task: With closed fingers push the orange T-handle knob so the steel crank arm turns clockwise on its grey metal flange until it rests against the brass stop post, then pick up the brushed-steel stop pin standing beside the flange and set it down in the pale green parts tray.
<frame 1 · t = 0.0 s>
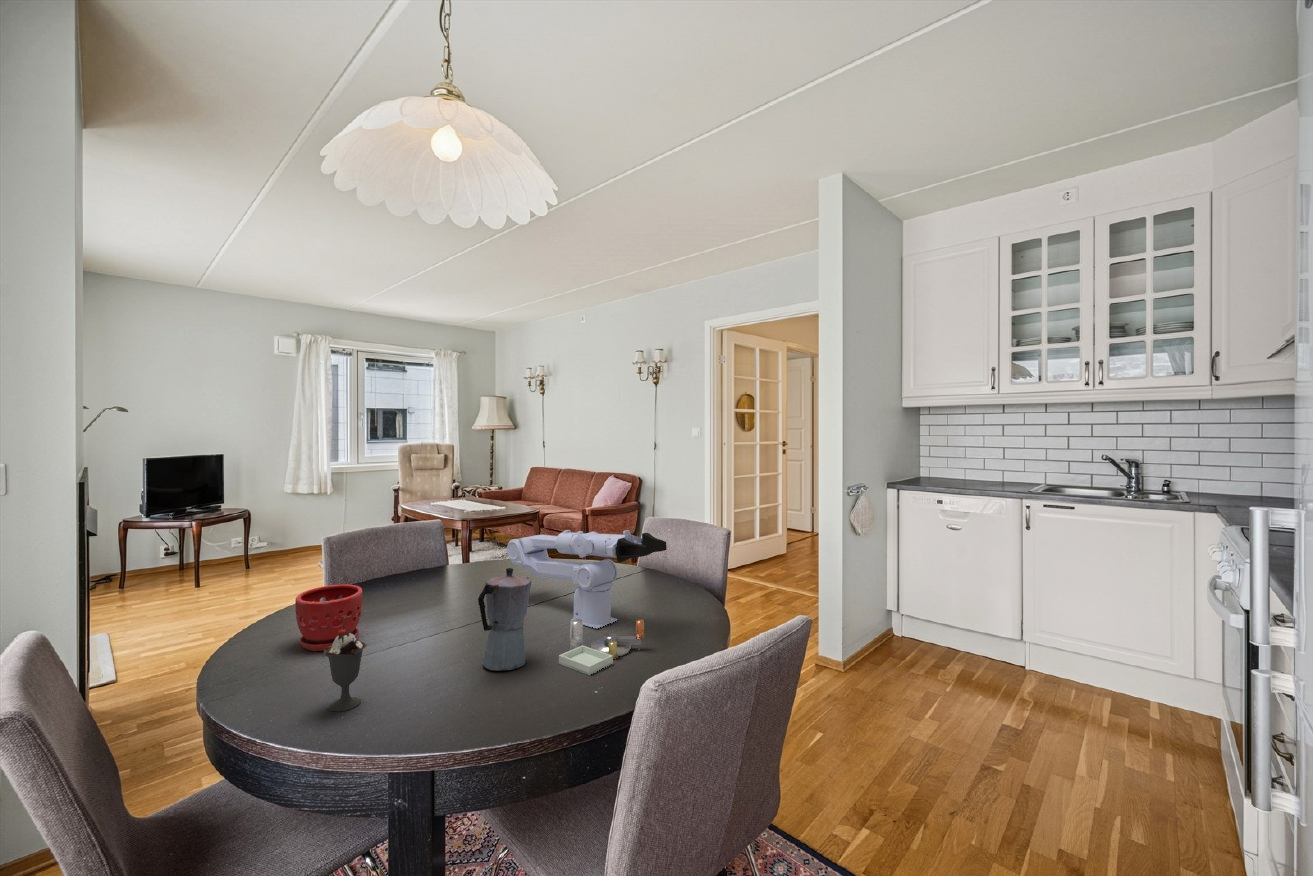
hand: (655, 548, 128), 22 cm above the table, tool horizontal, fingers open, 7 cm apart
plant pot: (329, 645, 123), on the table
sundae: (344, 705, 95), on the table
stop pin: (576, 650, 121), on the table
moka pot: (504, 665, 113), on the table
tray: (585, 664, 114), on the table
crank: (624, 632, 121), point 4 cm above the table, hinge at 40.0°
crank base: (610, 649, 121), on the table
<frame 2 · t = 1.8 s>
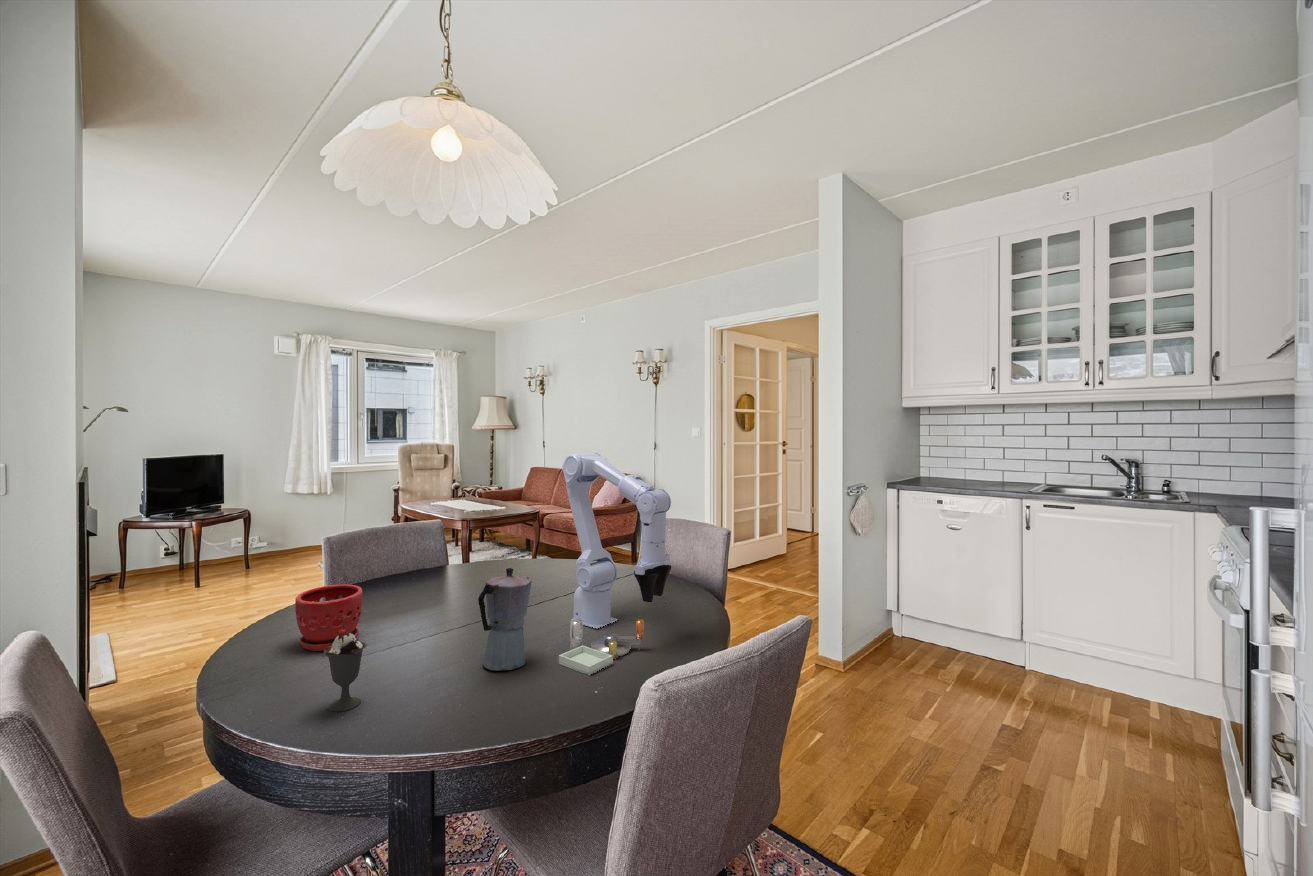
hand: (652, 598, 127), 10 cm above the table, tool pointing down, fingers open, 5 cm apart
nothing on the table moved.
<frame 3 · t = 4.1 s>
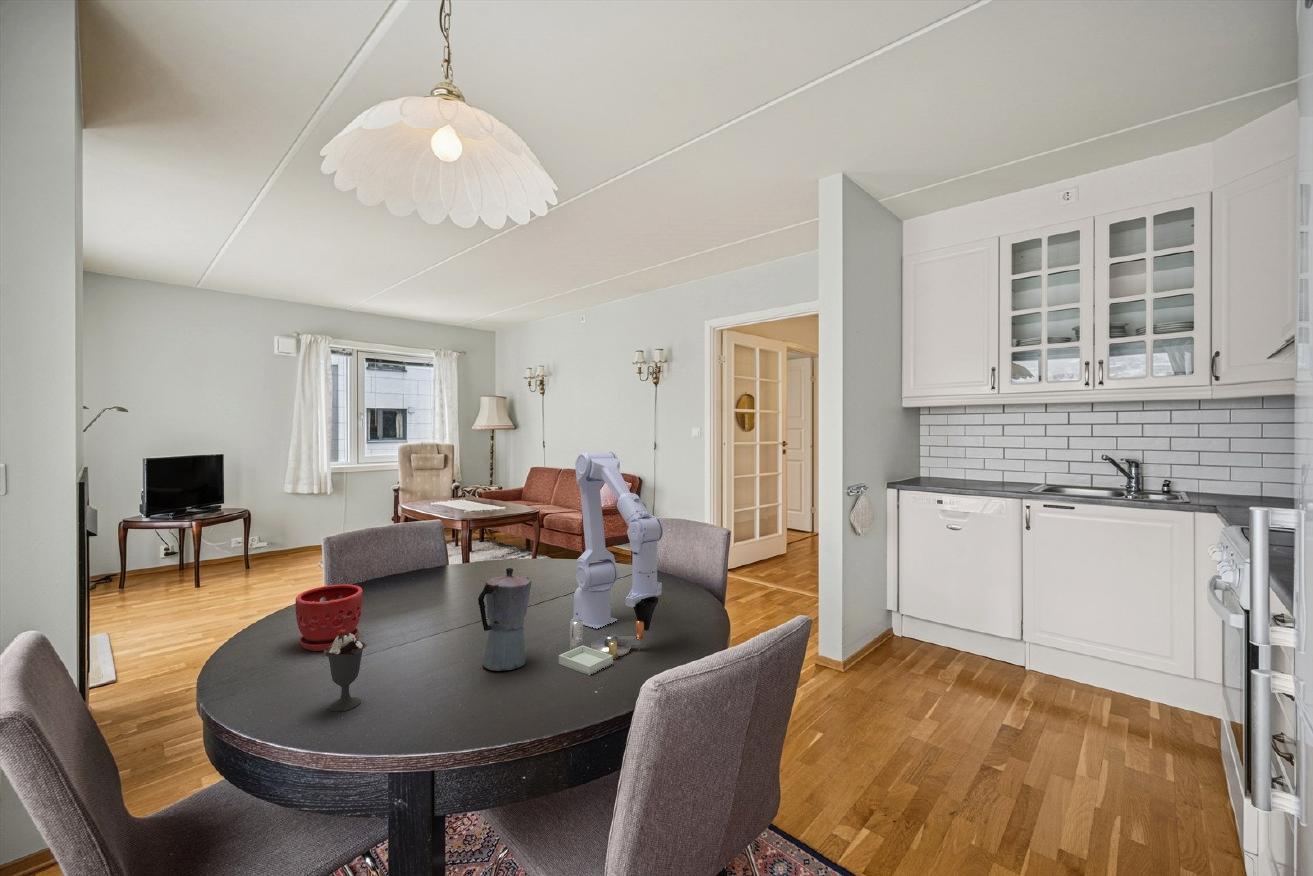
hand: (644, 629, 123), 4 cm above the table, tool pointing down, fingers closed, pressing on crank
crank: (624, 632, 121), point 4 cm above the table, hinge at 39.9°, touching gripper
everything else where it was.
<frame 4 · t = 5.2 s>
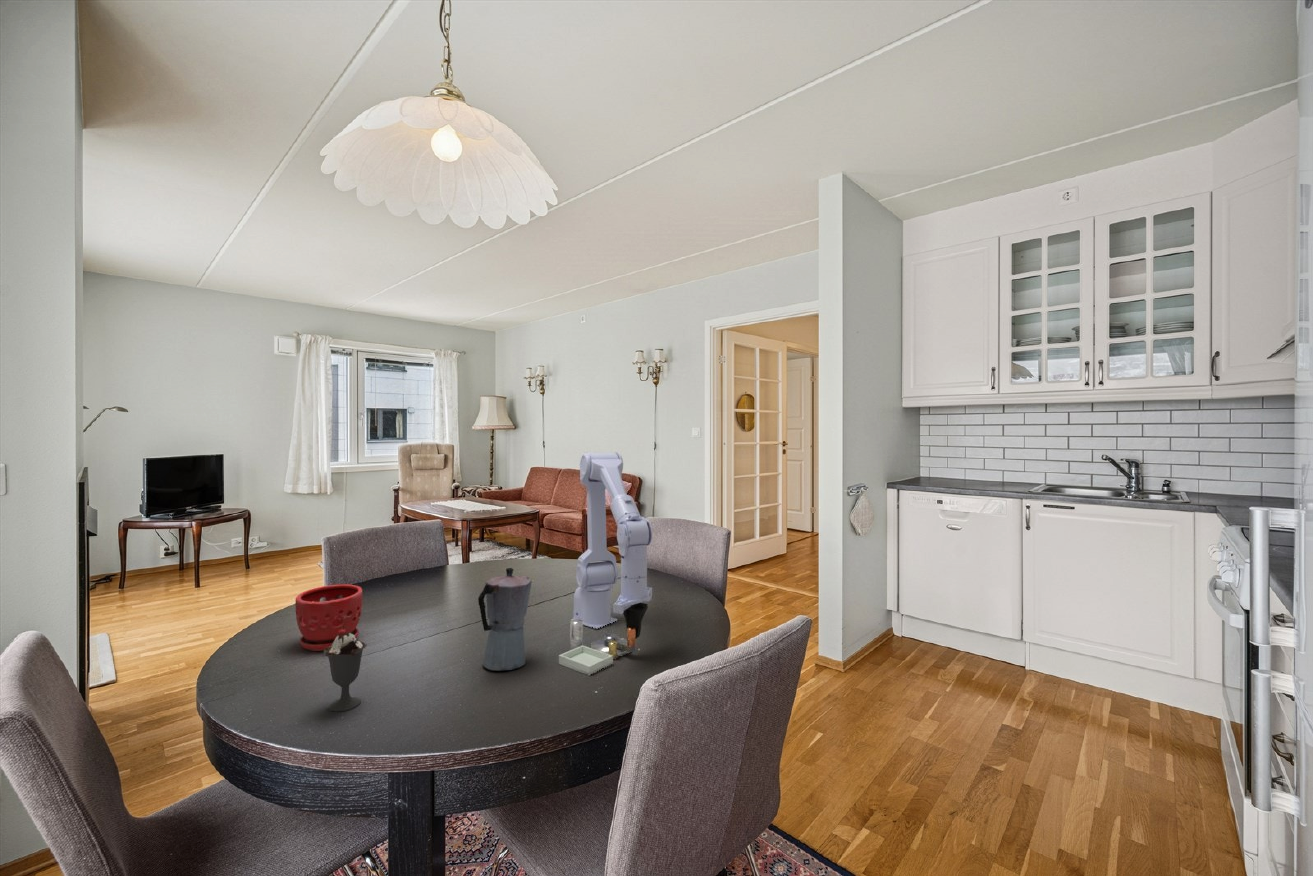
hand: (633, 637, 118), 4 cm above the table, tool pointing down, fingers closed, pressing on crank
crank: (620, 635, 119), point 4 cm above the table, hinge at -5.4°, touching gripper
everything else where it was.
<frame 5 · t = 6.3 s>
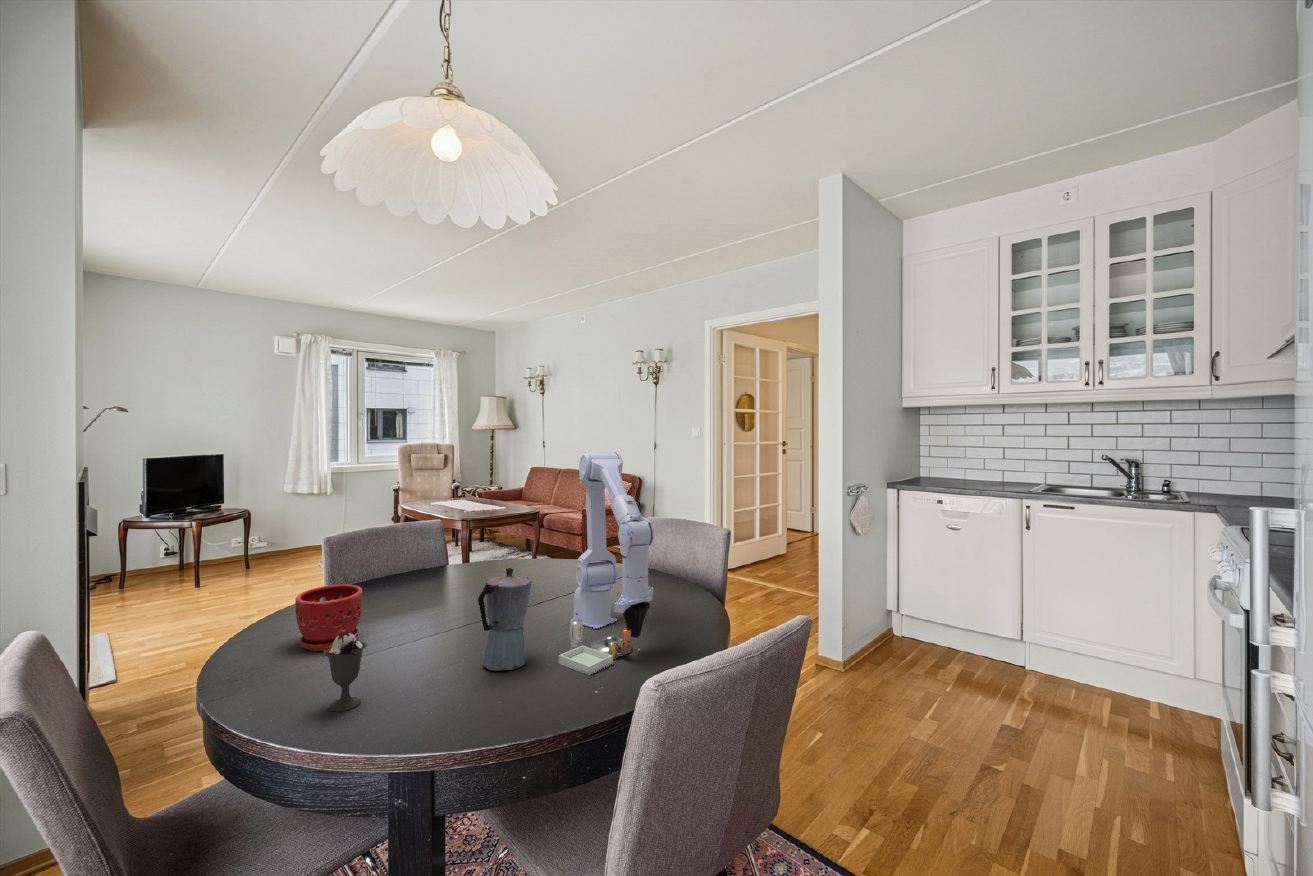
hand: (634, 636, 119), 4 cm above the table, tool pointing down, fingers closed
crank: (617, 636, 119), point 4 cm above the table, hinge at -16.9°
everything else where it was.
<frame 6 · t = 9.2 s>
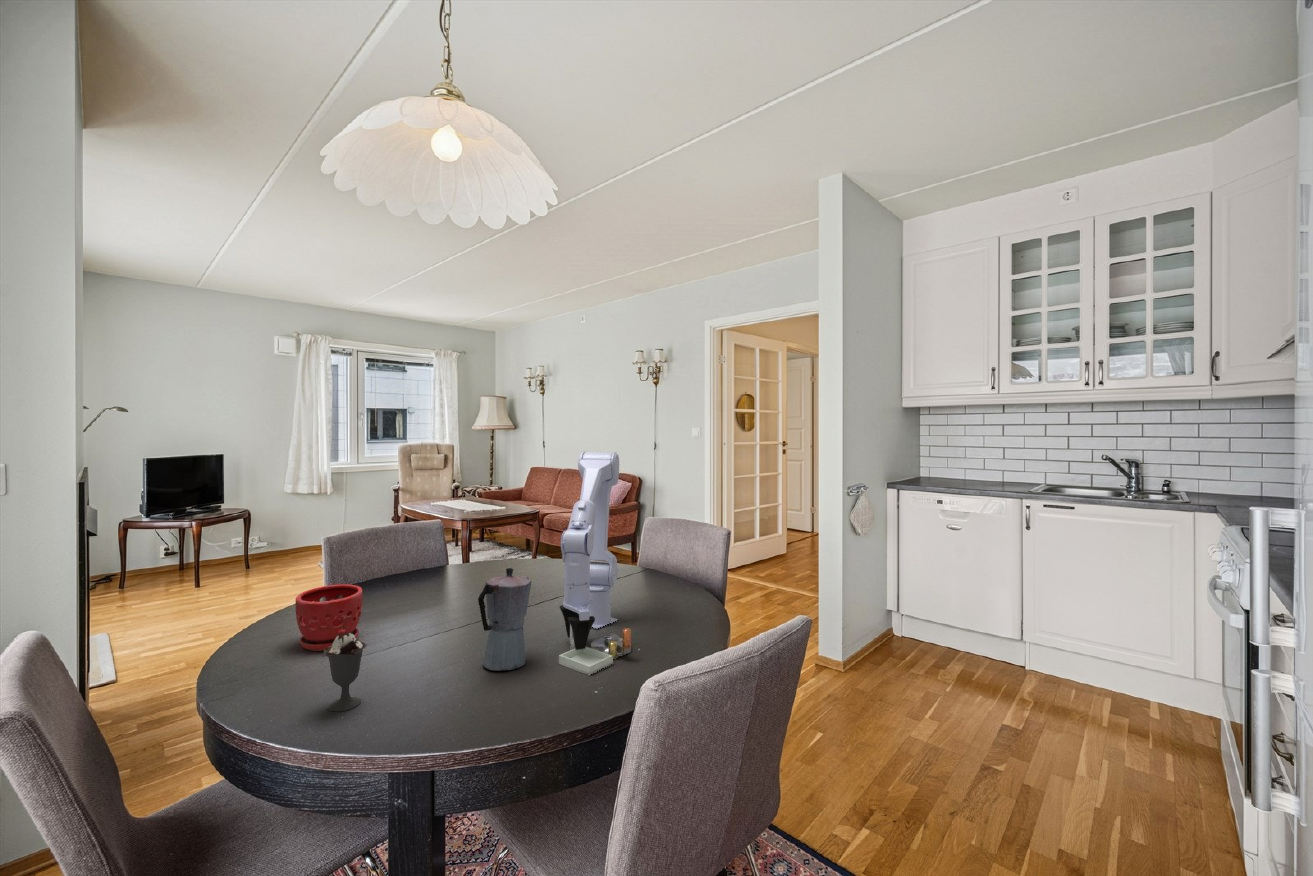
hand: (576, 642, 121), 2 cm above the table, tool pointing down, fingers open, 7 cm apart
nothing on the table moved.
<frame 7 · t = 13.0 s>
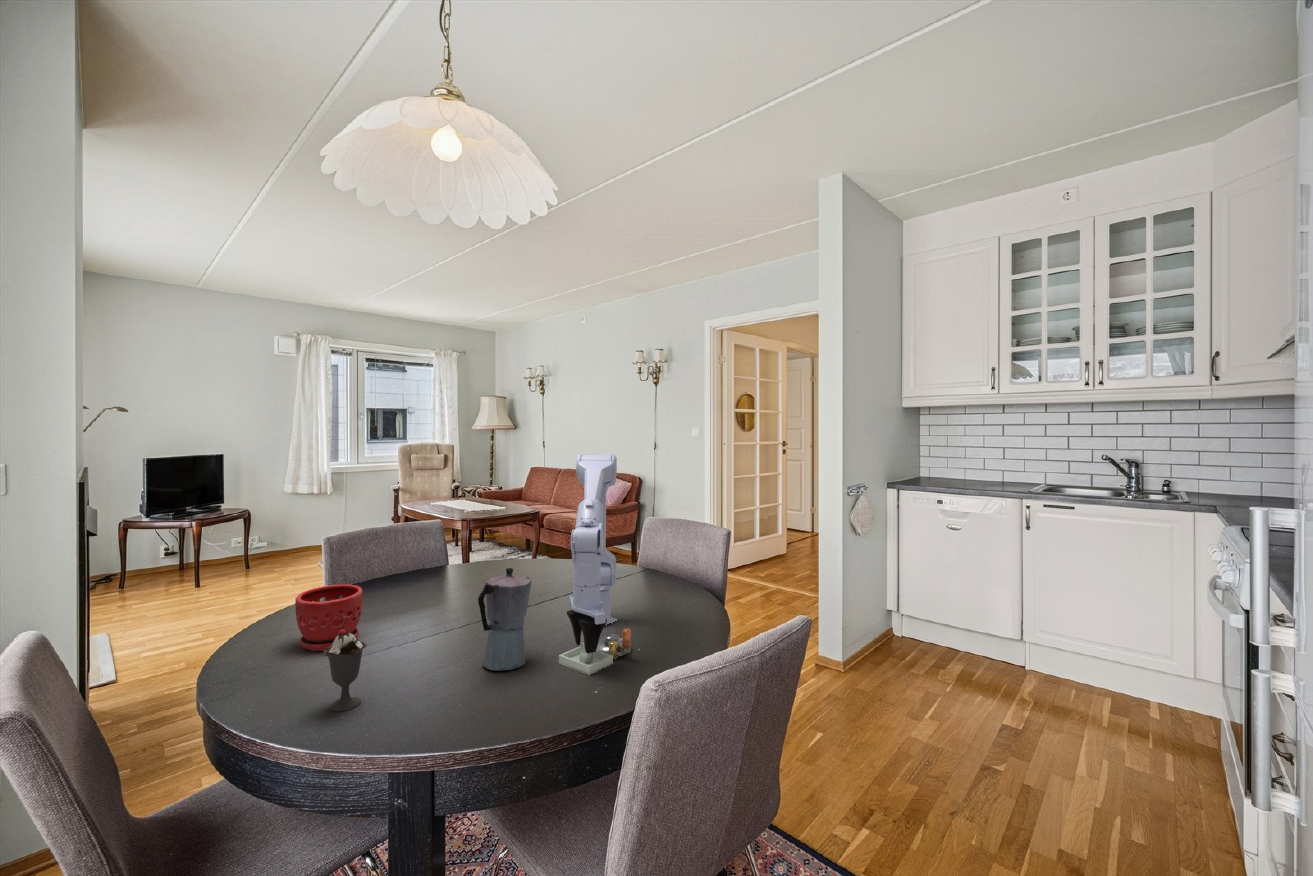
hand: (585, 648, 114), 3 cm above the table, tool pointing down, fingers open, 4 cm apart
stop pin: (586, 661, 114), point 1 cm above the table, touching tray
everything else where it was.
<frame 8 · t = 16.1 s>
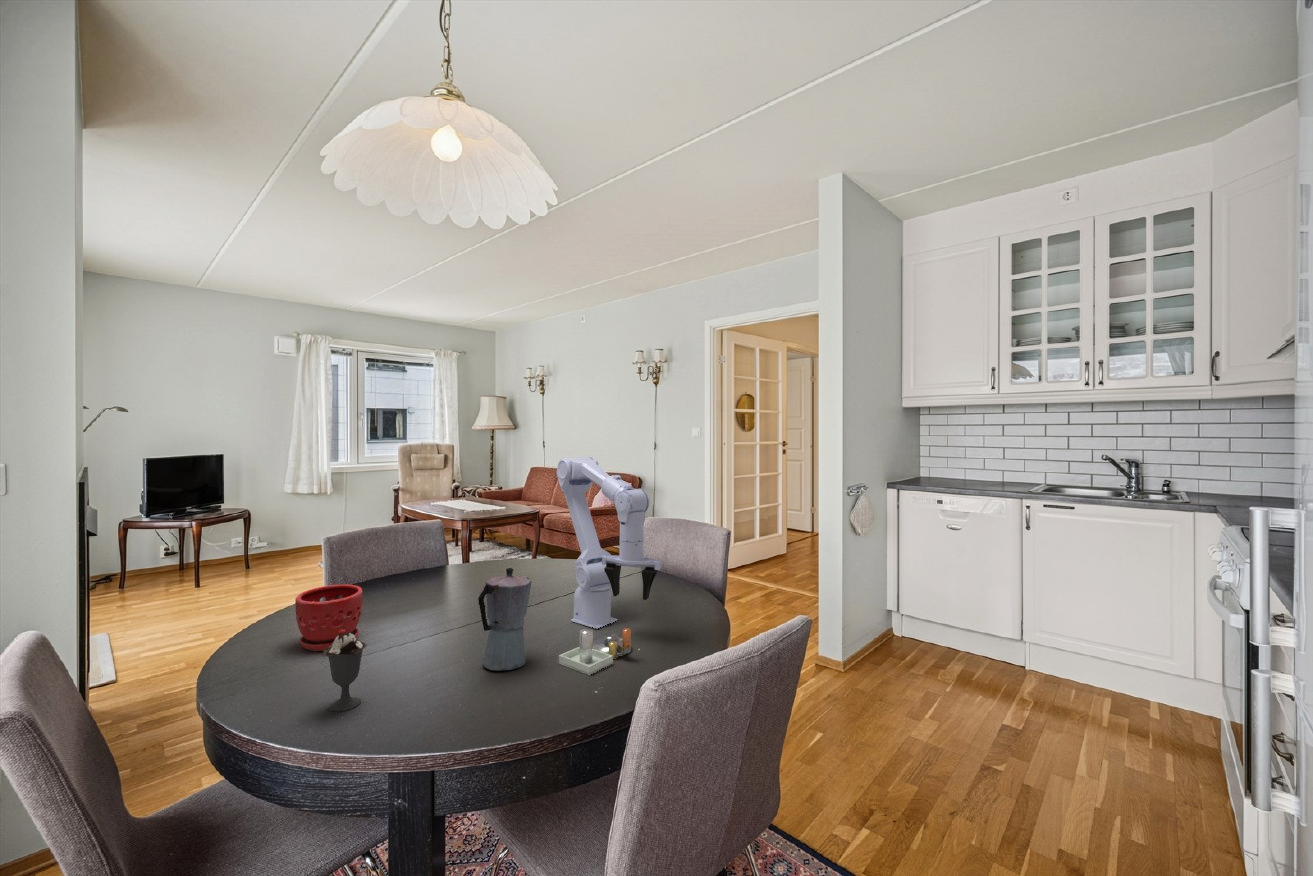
hand: (630, 597, 128), 10 cm above the table, tool pointing down, fingers open, 7 cm apart
nothing on the table moved.
at the end: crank at -17° (first picture: +40°); stop pin inside the target area on the tray (0.0 cm from its centre), point 0.5 cm above the tray's base; the gripper is holding nothing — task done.
